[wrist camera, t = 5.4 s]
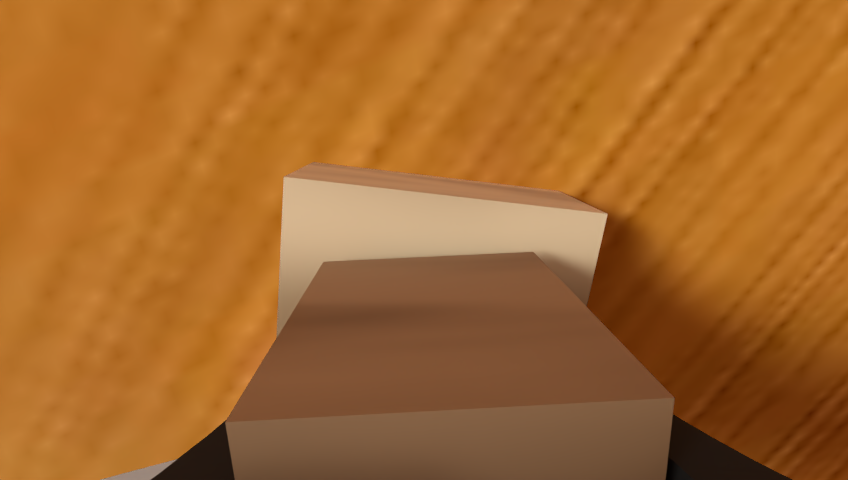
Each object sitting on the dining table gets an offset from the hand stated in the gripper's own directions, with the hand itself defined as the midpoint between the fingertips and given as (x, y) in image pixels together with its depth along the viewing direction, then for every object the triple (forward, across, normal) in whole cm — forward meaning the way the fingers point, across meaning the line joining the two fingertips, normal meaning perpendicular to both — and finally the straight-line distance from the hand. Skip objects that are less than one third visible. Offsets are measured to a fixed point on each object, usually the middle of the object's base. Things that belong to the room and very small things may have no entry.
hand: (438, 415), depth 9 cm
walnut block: (+2, 0, 0) cm, 2 cm away
